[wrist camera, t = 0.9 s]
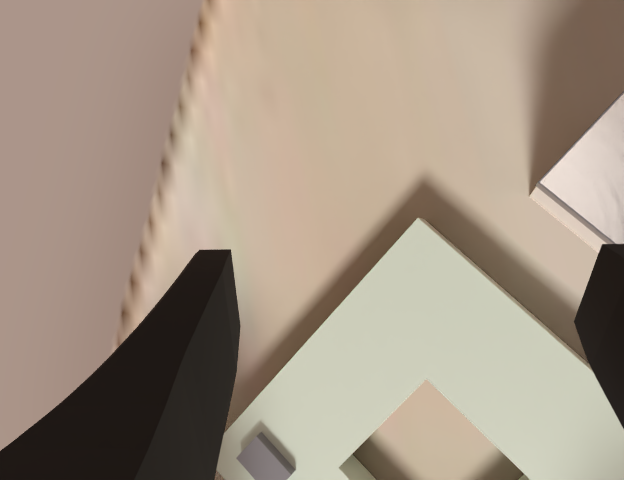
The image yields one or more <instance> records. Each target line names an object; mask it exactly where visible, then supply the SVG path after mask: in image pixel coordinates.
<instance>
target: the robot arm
mask: <svg viewBox="0 0 624 480" xmlns="http://www.w3.org/2000/svg"><path fill="white" fill-rule="evenodd" d="M574 323H575V326H576V329H577V332H578V334H579V337H580V340H581V343H582V346H583V349H584V351H585V354H586V357H587V359H588V362H589V364H590V367H591V369H592V371H593V373H594V375H595V377H596V379H597V381H598V382H599V384H600V386H601V388H602V390H603V392H604V394H605V396H606V397H607V399H608V401H609V403H610V405H611V407H612V409H613V410H614V412H615V414H616V416H617V418H618V420H619V422H620V423H621V425H622V427H623V429H624V244H602V246H601V248H600V251H599V254H598V257H597V259H596V262H595V265H594V268H593V271H592V273H591V276H590V279H589V282H588V284H587V287H586V290H585V293H584V295H583V298H582V301H581V304H580V306H579V309H578V312H577V315H576V317H575V320H574ZM239 336H240V320H239V312H238V304H237V296H236V288H235V279H234V271H233V263H232V255H231V249H230V250H199V251H198V252H197V253H196V254H195V255H194V256H193V258H192V259H191V260H190V262H189V263H188V264H187V266H186V267H185V268H184V270H183V271H182V272H181V274H180V275H179V276H178V278H177V279H176V280H175V282H174V283H173V284H172V286H171V287H170V288H169V289H168V291H167V292H166V293H165V294H164V296H163V297H162V298H161V299H160V301H159V302H158V303H157V304H156V305H155V307H154V308H153V309H152V310H151V311H150V313H149V314H148V315H147V316H146V317H145V319H144V320H143V321H142V322H141V323H140V324H139V326H138V327H137V328H136V329H135V330H134V331H133V332H132V333H131V334H130V335H129V337H128V338H127V339H126V340H125V341H124V342H123V343H122V344H121V345H120V346H119V347H118V348H117V349H116V350H115V352H114V353H113V354H112V355H111V356H110V357H109V358H108V359H107V360H106V361H105V362H104V363H103V364H102V365H101V366H100V367H99V368H98V369H97V370H96V371H95V372H94V373H93V374H92V375H91V376H90V377H89V378H88V379H87V380H85V381H84V382H83V383H82V384H81V385H80V386H79V387H78V388H77V389H76V390H75V391H74V392H73V393H71V394H70V395H69V396H68V397H67V398H66V399H65V400H63V401H62V402H61V403H60V404H59V405H58V406H56V407H55V408H54V409H53V410H52V411H50V412H49V413H48V414H47V415H46V416H44V417H43V418H42V419H41V420H39V421H38V422H37V423H36V424H34V425H33V426H32V427H30V428H29V429H28V430H27V431H25V432H24V433H23V434H22V435H20V436H19V437H18V438H17V439H15V440H14V441H13V442H12V443H10V444H9V445H8V446H6V447H5V448H4V449H2V450H1V451H0V480H214V478H215V473H216V469H217V464H218V459H219V454H220V449H221V445H222V440H223V435H224V430H225V425H226V421H227V416H228V411H229V406H230V401H231V396H232V391H233V387H234V382H235V376H236V371H237V360H238V349H239Z"/></svg>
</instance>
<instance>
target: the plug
mask: <svg viewBox="0 0 624 480" xmlns="http://www.w3.org/2000/svg"><path fill="white" fill-rule="evenodd" d="M535 186H536V188H535V189H534V190H533V192H532V193H531V194H530V196H529V197H530V198H531V199H533V200H534V201H535V202H536V203H538V204H539V205H540V206H541V207H542V208H544V209H545V210H546V211H547V212H549V213H550V214H551V215H552V216H554V217H555V218H556V219H557V220H558V221H560V222H561V223H562V224H563V225H565V226H566V227H567V228H568V229H569V230H571V231H572V232H573V233H574V234H576V235H577V236H578V237H579V238H580V239H582V240H583V241H584V242H585V243H587V244H588V245H589V246H590V247H591V248H593V249H594V250H595V251H596V252H598V253H599V251H600V248H601V246H602V244H624V91H623V92H622V93H621V95H620V96H619V97H618V98H617V99H616V100H615V101H614V102H613V103H612V104H611V105H610V106H609V107H608V108H607V109H606V110H605V111H604V113H603V114H602V115H601V116H600V117H599V118H598V119H597V120H596V121H595V122H594V123H593V124H592V125H591V126H590V127H589V128H588V129H587V130H586V132H585V133H584V134H583V135H582V136H581V137H580V138H579V139H578V140H577V141H576V142H575V143H574V144H573V145H572V146H571V147H570V148H569V150H568V151H567V152H566V153H565V154H564V155H563V156H562V157H561V158H560V159H559V160H558V161H557V162H556V163H555V164H554V165H553V166H552V168H551V169H550V170H549V171H548V172H547V173H546V174H545V175H544V176H543V177H542V178H541V179H540V180H539V181H538V182H537V184H536V185H535Z"/></svg>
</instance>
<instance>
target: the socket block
mask: <svg viewBox="0 0 624 480" xmlns="http://www.w3.org/2000/svg"><path fill="white" fill-rule="evenodd" d="M426 379H427V380H428V381H429V382H430V383H431V384H432V385H433V386H434V387H435V388H436V389H437V390H438V391H439V392H440V393H441V394H442V395H443V396H444V397H445V398H446V399H448V400H449V401H450V402H451V403H452V404H453V405H454V406H455V407H456V408H457V409H458V410H459V411H460V412H461V413H462V414H463V415H464V416H465V417H466V418H467V419H468V420H469V421H470V422H471V423H472V424H473V425H474V426H475V427H476V428H477V429H478V430H479V431H481V432H482V433H483V434H484V435H485V436H486V437H487V438H488V439H489V440H490V441H491V442H492V443H493V444H494V445H495V446H496V447H497V448H498V449H499V450H500V451H501V452H502V453H503V454H504V455H505V456H506V457H507V458H508V459H509V460H510V461H511V462H512V463H514V464H515V465H516V466H517V467H518V468H519V469H520V470H521V471H522V472H523V473H524V475H523V476H522V477H520V478H519V479H518V480H624V429H623V427H622V425H621V423H620V422H619V420H618V418H617V416H616V414H615V412H614V410H613V409H612V407H611V405H610V403H609V401H608V399H607V397H606V396H605V394H604V392H603V390H602V388H601V386H600V384H599V382H598V381H597V379H596V377H595V375H594V373H593V371H592V369H591V367H590V364H588V363H587V362H586V361H585V360H584V359H583V358H582V357H580V356H579V355H578V354H577V353H576V352H575V351H574V350H573V349H571V348H570V347H569V346H568V345H567V344H566V343H565V342H563V341H562V340H561V339H560V338H559V337H558V336H557V335H555V334H554V333H553V332H552V331H551V330H550V329H549V328H547V327H546V326H545V325H544V324H543V323H542V322H541V321H540V320H538V319H537V318H536V317H535V316H534V315H533V314H532V313H530V312H529V311H528V310H527V309H526V308H525V307H524V306H522V305H521V304H520V303H519V302H518V301H517V300H516V299H515V298H513V297H512V296H511V295H510V294H509V293H508V292H507V291H505V290H504V289H503V288H502V287H501V286H500V285H499V284H497V283H496V282H495V281H494V280H493V279H492V278H491V277H489V276H488V275H487V274H486V273H485V272H484V271H483V270H482V269H480V268H479V267H478V266H477V265H476V264H475V263H474V262H472V261H471V260H470V259H469V258H468V257H467V256H466V255H464V254H463V253H462V252H461V251H460V250H459V249H458V248H457V247H455V246H454V245H453V244H452V243H451V242H450V241H449V240H447V239H446V238H445V237H444V236H443V235H442V234H441V233H439V232H438V231H437V230H436V229H435V228H434V227H433V226H431V225H430V224H429V223H428V222H427V221H426V220H425V219H422V218H417V219H416V220H415V221H414V223H413V224H412V225H411V226H410V227H409V228H408V229H407V230H406V231H405V233H404V234H403V235H402V236H401V237H400V238H399V239H398V240H397V241H396V243H395V244H394V245H393V246H392V247H391V248H390V249H389V250H388V251H387V253H386V254H385V255H384V256H383V257H382V258H381V259H380V260H379V262H378V263H377V264H376V265H375V266H374V267H373V268H372V269H371V270H370V272H369V273H368V274H367V275H366V276H365V277H364V278H363V279H362V280H361V282H360V283H359V284H358V285H357V286H356V287H355V288H354V289H353V290H352V292H351V293H350V294H349V295H348V296H347V297H346V298H345V299H344V300H343V302H342V303H341V304H340V305H339V306H338V307H337V308H336V309H335V310H334V312H333V313H332V314H331V315H330V316H329V317H328V318H327V319H326V321H325V322H324V323H323V324H322V325H321V326H320V327H319V328H318V329H317V331H316V332H315V333H314V334H313V335H312V336H311V337H310V338H309V339H308V341H307V342H306V343H305V344H304V345H303V346H302V347H301V348H300V349H299V351H298V352H297V353H296V354H295V355H294V356H293V357H292V358H291V359H290V361H289V362H288V363H287V364H286V365H285V366H284V367H283V368H282V370H281V371H280V372H279V373H278V374H277V375H276V376H275V377H274V378H273V380H272V381H271V382H270V383H269V384H268V385H267V386H266V387H265V388H264V390H263V391H262V392H261V393H260V394H259V395H258V396H257V397H256V398H255V400H254V401H253V402H252V403H251V404H250V405H249V406H248V407H247V408H246V410H245V411H244V412H243V413H242V414H241V415H240V416H239V417H238V418H237V420H236V421H235V422H234V423H233V424H232V425H231V426H230V427H229V429H228V430H227V431H226V432H225V433H224V435H223V440H222V445H221V449H220V454H219V459H218V464H217V469H216V470H217V471H218V472H219V474H220V475H221V476H222V477H223V478H224V479H225V480H376V479H375V478H374V477H373V476H372V475H371V473H370V472H369V471H368V470H367V469H366V468H365V467H364V466H363V465H362V464H361V463H360V462H359V461H358V460H357V459H356V458H355V457H354V455H353V454H352V453H353V452H354V451H355V450H356V449H357V448H358V447H359V446H360V445H361V444H362V443H363V442H364V441H365V440H366V439H367V438H368V437H369V436H370V435H371V434H372V433H373V432H374V431H375V430H376V429H377V428H378V427H379V426H380V425H381V424H382V423H383V422H384V421H385V420H386V419H387V418H388V417H389V416H390V415H391V414H392V413H393V412H394V411H395V410H396V409H397V408H398V407H399V406H400V405H401V404H402V403H403V402H404V401H405V400H406V399H407V398H408V397H409V396H410V395H411V394H412V393H413V392H414V391H415V390H416V389H417V388H418V387H419V386H420V385H421V384H422V383H423V382H424V381H425V380H426Z"/></svg>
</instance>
